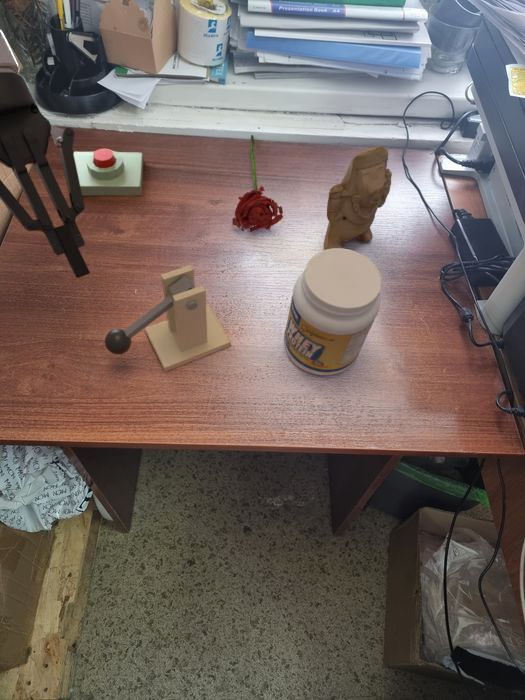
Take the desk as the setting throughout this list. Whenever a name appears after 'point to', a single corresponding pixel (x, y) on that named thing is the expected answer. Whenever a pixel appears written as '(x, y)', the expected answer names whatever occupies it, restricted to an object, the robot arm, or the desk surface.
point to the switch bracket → (186, 325)
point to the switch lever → (144, 319)
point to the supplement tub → (332, 311)
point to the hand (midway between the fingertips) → (83, 275)
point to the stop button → (103, 158)
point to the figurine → (358, 198)
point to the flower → (256, 207)
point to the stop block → (110, 174)
